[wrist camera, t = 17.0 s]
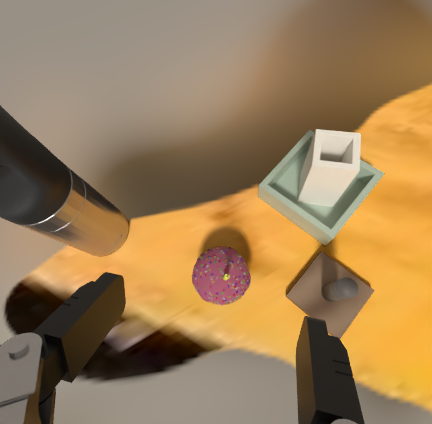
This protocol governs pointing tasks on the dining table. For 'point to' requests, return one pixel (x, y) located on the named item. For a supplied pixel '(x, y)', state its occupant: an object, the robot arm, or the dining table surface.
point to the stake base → (318, 304)
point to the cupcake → (221, 276)
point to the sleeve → (329, 167)
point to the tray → (310, 213)
